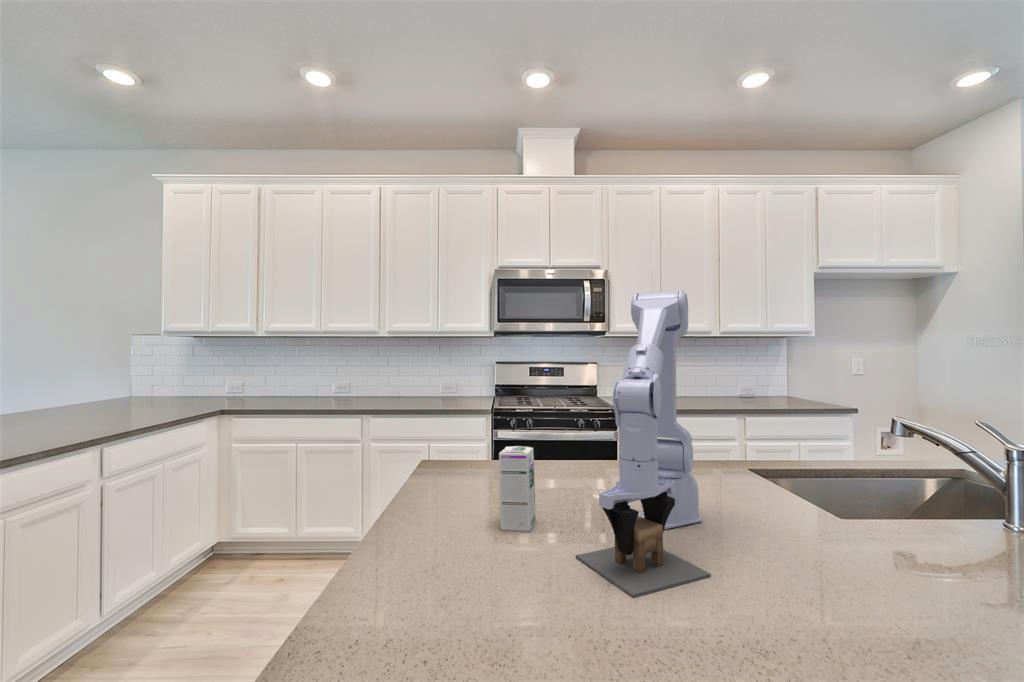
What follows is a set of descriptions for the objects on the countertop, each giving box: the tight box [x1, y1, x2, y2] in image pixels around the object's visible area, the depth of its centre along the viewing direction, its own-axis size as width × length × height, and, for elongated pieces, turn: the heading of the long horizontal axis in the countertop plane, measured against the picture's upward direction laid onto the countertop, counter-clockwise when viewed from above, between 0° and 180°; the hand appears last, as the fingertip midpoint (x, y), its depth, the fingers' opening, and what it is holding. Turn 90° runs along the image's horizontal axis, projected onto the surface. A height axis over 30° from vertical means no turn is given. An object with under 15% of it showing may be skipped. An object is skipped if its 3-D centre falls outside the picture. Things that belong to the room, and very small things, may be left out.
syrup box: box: [498, 445, 536, 533], centre depth 91 cm, size 6×6×14 cm
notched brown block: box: [614, 516, 664, 574], centre depth 73 cm, size 5×5×6 cm
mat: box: [575, 546, 712, 599], centre depth 73 cm, size 14×14×1 cm
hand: (639, 547), depth 73 cm, fingers open, 6 cm apart
